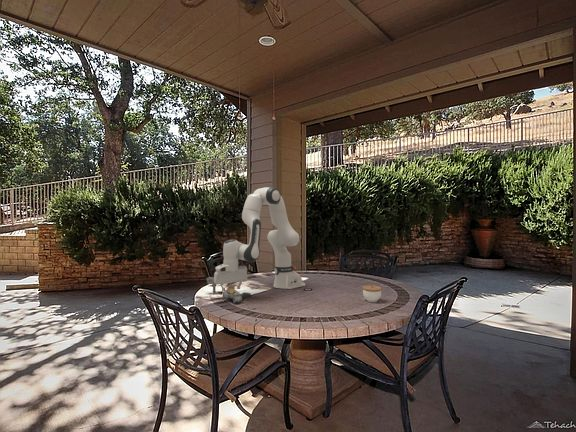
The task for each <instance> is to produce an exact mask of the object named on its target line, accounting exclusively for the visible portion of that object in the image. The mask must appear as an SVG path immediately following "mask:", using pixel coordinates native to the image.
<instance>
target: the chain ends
mask: <svg viewBox="0 0 576 432" xmlns="http://www.w3.org/2000/svg"><path fill="white" fill-rule="evenodd" d="M251 297H252V293H251V292H247V291H246V292H245V291H244V292H242V293H240V292H238V291H237V290H235V289H234V293H231V294H229V290H225V291H222V299H223V300H224V301H226V302H232V303H233V304H234V305H239V304H241V301H242V300H243V299H247V298H251Z"/></svg>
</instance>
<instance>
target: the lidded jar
mask: <svg viewBox="0 0 576 432" xmlns="http://www.w3.org/2000/svg"><path fill="white" fill-rule="evenodd" d="M362 295H363V297H364V299H365V300H366V301H367V302H369V303H377V302H378V301H379V300H380V299H381V296H382V287H381V286H379V285H374V284H371V285H369V284H368V285H364V286H362Z"/></svg>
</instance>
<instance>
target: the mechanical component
mask: <svg viewBox="0 0 576 432" xmlns="http://www.w3.org/2000/svg"><path fill="white" fill-rule="evenodd" d="M205 280H206V284H207V285H211V287H212V294H213V295H214V294H216V287H217V284H215V283H214V276H212V277H211V276H208V277H206V278H205Z"/></svg>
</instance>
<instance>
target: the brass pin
mask: <svg viewBox="0 0 576 432" xmlns="http://www.w3.org/2000/svg"><path fill="white" fill-rule="evenodd" d="M234 290H235V285H233V284H232V285H228V291H229V294H231V293H234Z"/></svg>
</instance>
